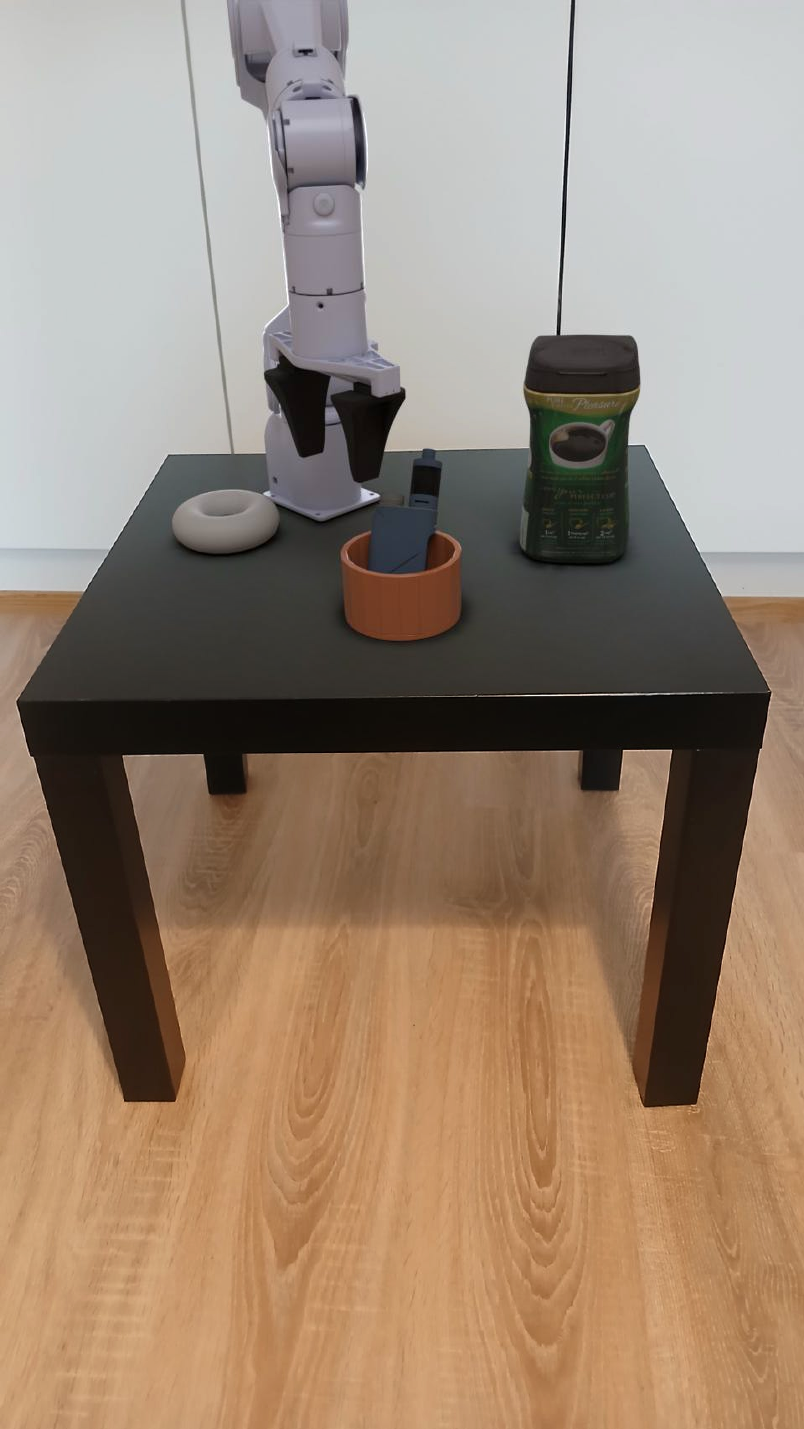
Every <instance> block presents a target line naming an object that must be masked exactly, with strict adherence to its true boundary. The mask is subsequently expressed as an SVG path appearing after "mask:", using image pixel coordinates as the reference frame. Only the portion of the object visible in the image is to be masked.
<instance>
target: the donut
mask: <svg viewBox="0 0 804 1429" xmlns="http://www.w3.org/2000/svg"><path fill="white" fill-rule="evenodd" d="M280 518H281V516H280V512H279V510H278V508H277V506H276V503H274V502H273V501H271V500H270V499H268V498H267V497H265V496H264V495H263V493H258V492H256V491H253V490H245V489H220V490H212V491H209V492H203V493H200V494H198V495H195V496H193V497H191V498H189V499H186V500H185V501H184V502H183V503H181V504H180V505H179V506H178V507H177V508H176V510H175V511H174V514H173V516H172V518H171V527H172V532H173V534H174V537H175V538H176V539H177V541H178V542H180V543H181V544H182V545H184V546H185V547H186V548H188V549H191V550H193V551H196V552H198V553H205V554H206V553H207V554H216V555H217V554H221V555H222V554H233V553H234V554H235V553H241V552H244V551H247V550H250V549H254V548H256V547H259V546H260V545H262V544H265V543H266V542H267V541H269V539H271V538H272V537H273V536H274V535H275V534H276V532H277V530H278V527H279V525H280V520H281V519H280Z"/></svg>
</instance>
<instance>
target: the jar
mask: <svg viewBox="0 0 804 1429" xmlns="http://www.w3.org/2000/svg"><path fill="white" fill-rule="evenodd" d="M370 535H371V530H368V531H366V532H363V533H360V534H358V535H355V536H354V537H352V538H351V539H349V540H348V541H347V542H345V543H344V544H343V546H342V548H341V550H340V566H341V580H342V581H341V582H342V595H343V609H344V617H345V621H346V622H347V624H348V626H350V628H352V629H353V630H354V631H356V632H357V633H359V634H362V635H364V636H366V637H369V638H372V639H377V640H383V641H393V642H407V641H417V640H424V639H428V638H432V637H434V636H438V635H440V634H443V633H445V632H446V631H448V630H450V629H452V628H453V627H454V626H455V625H456V624H457V623H458V621H459V620H460V617H461V614H462V606H463V605H462V602H463V601H462V599H463V597H462V590H463V587H462V584H463V583H462V582H463V580H462V578H463V576H462V574H463V573H462V571H463V570H462V568H463V566H462V564H463V562H462V560H463V559H462V558H463V554H462V553H463V552H462V547H461V545H460V542H459V541H458V540H456V539H455V538H453V536H451V535H449V534H447V533H444V532H442V531H439V530H435V536H434V537H433V538H432V540H431V542H430V550H429V559H428V568H427V571H423V572H419V573H411V574H382V573H377V572H372V571H368V570H367V563H368V554H369V545H370Z"/></svg>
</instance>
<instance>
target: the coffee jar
mask: <svg viewBox="0 0 804 1429" xmlns="http://www.w3.org/2000/svg"><path fill="white" fill-rule="evenodd" d="M639 358H640V357H639V347H638V343H637V342H636V339H635V338H634V336H633V335H628V334H624V335H623V334H552V335H549V334H548V335H537V337H536V338H535V339H534V340H533V342H532V344H531V345H530V349H529V354H528V359H527V363H526V364H527V365H526V368H525V376H524V380H523V384H522V386H523V387H522V390H523V397H524V401H525V404H526V407H527V410H528V414H529V444H528V456H527V457H528V459H527V466H526V473H525V474H526V475H525V484H524V490H523V499H522V506H521V517H520V529H519V544H520V548H521V550H522V552H524V554H526V555H527V556H529V557H531V558H532V559H534V560H536V561H542V562H551V563H552V562H553V563H578V564H580V563H581V564H583V563H585V564H586V563H589V564H591V563H596V564H597V563H598V564H599V563H608V562H612V561H615V560H616V559H618V558H619V557H622V556H623V555H624V554H625V553H626V551H627V548H628V547H629V546H628V545H629V533H630V498H629V497H630V496H629V434H630V423H631V422H630V421H631V416H632V412H633V410H634V409H635V406H636V404H637V402H638V400H639V397H640V393H641V383H642V381H641V366H640V360H639Z"/></svg>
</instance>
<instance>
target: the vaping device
mask: <svg viewBox="0 0 804 1429" xmlns="http://www.w3.org/2000/svg"><path fill="white" fill-rule="evenodd" d="M436 452H437V451H436V449H433V448H428V447H427V448H422V453H421V457H420V458H414V459H413V460H412V471H411V480H410V488H409V489H410V490H409V498H408V506H405V499H406V496H405V495H402V494H399V493H393V492H392V493H391V492H383V493H380V494H379V495H380V500H379V503H378V504H377V505H376V506H375V508H376V509H375V510H374V511H373V514H372V517H371V527H370V531H371V535H370V545H369V554H368V563H367V570H368V571H372V572H377V573H382V574H411V573H419V572H423V571H427V568H428V559H429V550H430V542H431V540H432V538H433V537H434V536H435V530H436V531H438V530H437V529H438V525H437V522H438V514H439V512H438V508H439V498H440V489H441V488H440V487H441V480H442V470H443V462H442V461H441V460H437V459H436Z"/></svg>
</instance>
